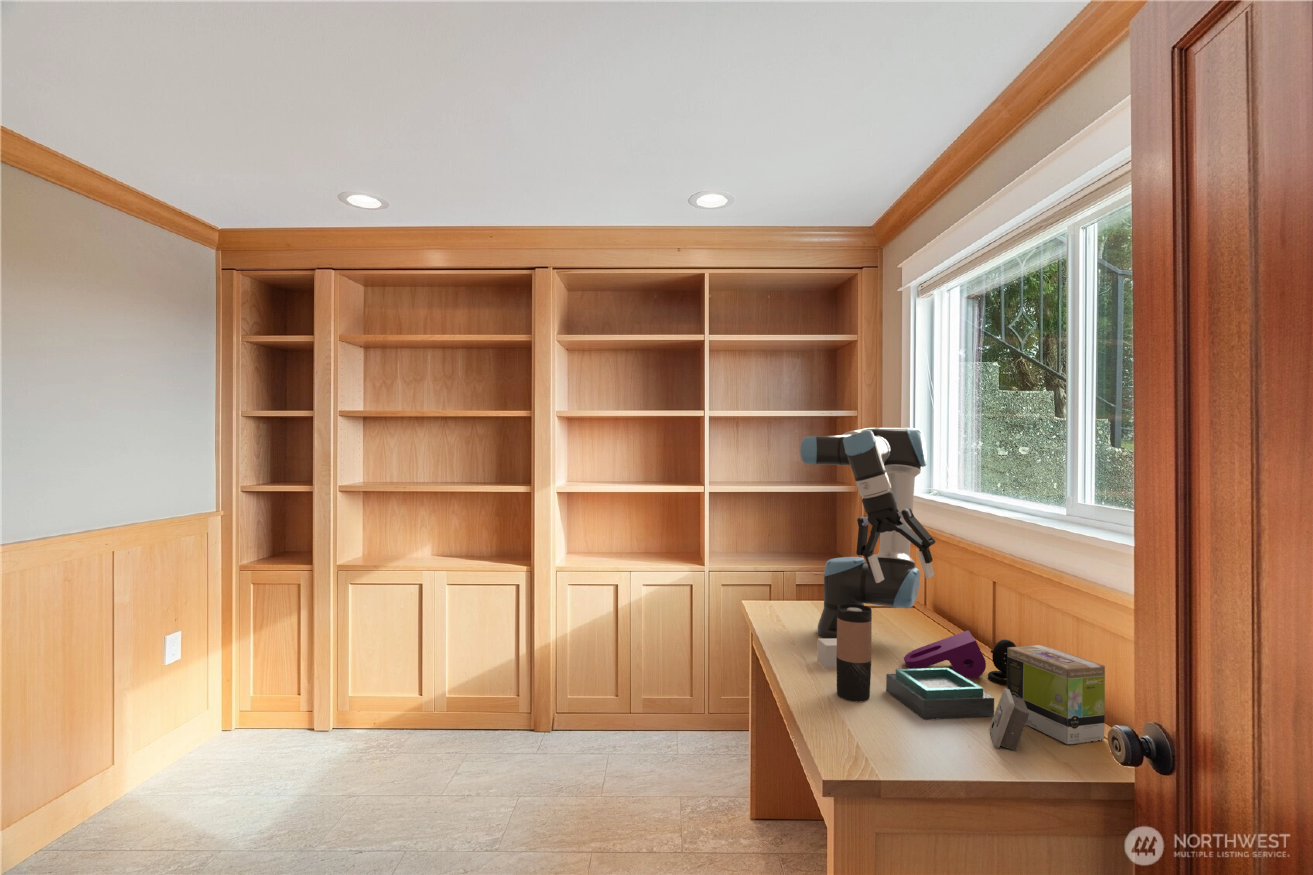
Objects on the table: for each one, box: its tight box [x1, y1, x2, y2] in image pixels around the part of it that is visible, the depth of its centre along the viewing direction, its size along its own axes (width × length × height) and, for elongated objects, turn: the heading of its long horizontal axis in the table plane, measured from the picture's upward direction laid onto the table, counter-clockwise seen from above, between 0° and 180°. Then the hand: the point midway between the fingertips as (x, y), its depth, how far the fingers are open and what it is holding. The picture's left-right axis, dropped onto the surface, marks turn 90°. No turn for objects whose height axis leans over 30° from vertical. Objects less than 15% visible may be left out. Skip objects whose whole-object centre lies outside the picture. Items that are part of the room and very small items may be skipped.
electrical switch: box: [989, 687, 1029, 752], centre depth 127 cm, size 9×5×9 cm, turn 158°
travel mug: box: [836, 604, 873, 703], centre depth 150 cm, size 8×8×20 cm
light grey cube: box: [816, 638, 837, 670], centre depth 171 cm, size 6×6×6 cm
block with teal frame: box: [885, 667, 995, 721], centre depth 146 cm, size 16×16×6 cm
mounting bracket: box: [903, 629, 987, 680], centre depth 168 cm, size 9×8×18 cm
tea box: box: [1006, 644, 1106, 745], centre depth 135 cm, size 15×10×15 cm, turn 17°
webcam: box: [987, 639, 1017, 686], centre depth 161 cm, size 8×8×10 cm
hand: (904, 579), depth 157 cm, fingers open, 13 cm apart
